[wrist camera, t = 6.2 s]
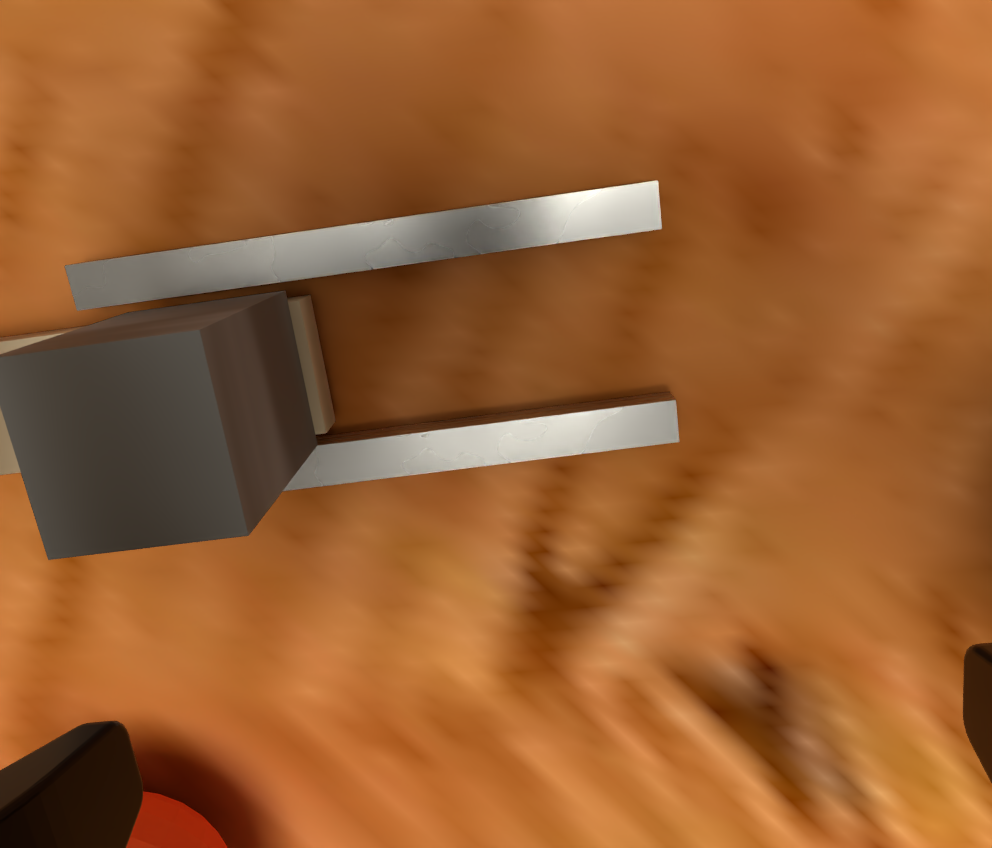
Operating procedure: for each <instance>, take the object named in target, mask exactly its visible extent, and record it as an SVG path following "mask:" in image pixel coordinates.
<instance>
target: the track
mask: <svg viewBox="0 0 992 848" xmlns="http://www.w3.org/2000/svg"><path fill="white" fill-rule="evenodd" d="M658 229H662V224H661V211H660V199H659V187H658V181H647V182H640V183H633V184H626V185H619V186H612V187H605V188H598V189H591V190H584V191H577V192H570V193H563V194H556V195H549V196H542V197H535V198H528V199H521V200H514V201H507V202H500V203H493V204H486V205H479V206H472V207H465V208H458V209H451V210H444V211H437V212H431V213H424V214H417V215H410V216H403V217H396V218H389V219H382V220H375V221H368V222H361V223H354V224H347V225H340V226H333V227H326V228H319V229H312V230H305V231H298V232H291V233H284V234H277V235H270V236H263V237H256V238H249V239H242V240H235V241H228V242H221V243H214V244H208V245H201V246H194V247H187V248H180V249H173V250H166V251H159V252H152V253H145V254H138V255H131V256H124V257H117V258H110V259H103V260H96V261H89V262H82V263H77V264H71V265H65V269H66V273H67V276H68V280H69V283H70V287H71V291H72V294H73V298H74V301H75V305H76V309H77V311H79V310H86V309H93V308H100V307H107V306H115V305H122V304H129V303H136V302H143V301H150V300H157V299H165V298H172V297H179V296H186V295H193V294H200V293H207V292H215V291H222V290H229V289H236V288H243V287H250V286H258V285H265V284H272V283H279V282H286V281H293V280H300V279H308V278H315V277H322V276H329V275H336V274H343V273H350V272H358V271H365V270H372V269H379V268H386V267H393V266H401V265H408V264H415V263H422V262H429V261H436V260H443V259H451V258H458V257H465V256H472V255H479V254H486V253H493V252H501V251H508V250H515V249H522V248H529V247H536V246H543V245H551V244H558V243H565V242H572V241H579V240H586V239H594V238H601V237H608V236H615V235H622V234H629V233H636V232H644V231H651V230H658ZM316 440H317V447H316V448H315V449H314V451H313V452H312V453H311V455H310V456H309V457H308V458H307V460H306V461H305V462H304V464H303V465H302V466H301V468H300V469H299V470H298V472H297V473H296V474H295V475H294V477H293V478H292V479H291V481H290V482H289V483H288V485H287V486H286V487H285V489H284V490H283V491H288V490H296V489H304V488H312V487H320V486H328V485H336V484H344V483H353V482H361V481H369V480H377V479H385V478H393V477H401V476H409V475H417V474H425V473H433V472H441V471H449V470H457V469H465V468H473V467H481V466H489V465H498V464H506V463H514V462H522V461H530V460H538V459H546V458H554V457H562V456H570V455H578V454H586V453H594V452H602V451H610V450H618V449H626V448H634V447H642V446H651V445H659V444H667V443H675V442H679V432H678V420H677V407H676V399H675V398H674V397H673V395H672V394H671V393H670V392H662V393H654V394H646V395H638V396H631V397H623V398H615V399H607V400H599V401H592V402H584V403H576V404H568V405H560V406H552V407H545V408H537V409H529V410H521V411H513V412H506V413H498V414H490V415H482V416H474V417H466V418H459V419H451V420H443V421H435V422H427V423H420V424H412V425H404V426H396V427H388V428H380V429H373V430H365V431H357V432H349V433H341V434H334V435H326V436H318V437H316Z"/></svg>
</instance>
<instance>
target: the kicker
mask: <svg viewBox="0 0 992 848" xmlns="http://www.w3.org/2000/svg"><path fill="white" fill-rule="evenodd" d="M335 421H336V420H335V415H334V410H333V405H332V400H331V395H330V390H329V385H328V380H327V375H326V370H325V365H324V360H323V355H322V350H321V345H320V340H319V335H318V330H317V325H316V320H315V315H314V310H313V305H312V300H311V295H304V296H297V297H290V298H287V295H286V291H279V292H271V293H264V294H257V295H250V296H243V297H235V298H228V299H221V300H214V301H207V302H200V303H192V304H185V305H178V306H171V307H164V308H156V309H149V310H142V311H135V312H128V313H125V314H122V315H119V316H116V317H113V318H109V319H106V320H103V321H100V322H97V323H94V324H91V325H88V326H81V327H73V328H66V329H59V330H52V331H45V332H37V333H30V334H23V335H16V336H8V337H1V338H0V475H5V474H12V473H20V472H21V475H22V478H23V481H24V484H25V487H26V490H27V494H28V497H29V500H30V503H31V506H32V510H33V513H34V516H35V519H36V522H37V525H38V529H39V532H40V535H41V538H42V541H43V545H44V548H45V551H46V554H47V557H48V560H51V559H59V558H68V557H76V556H84V555H93V554H101V553H109V552H117V551H126V550H134V549H142V548H150V547H159V546H167V545H175V544H183V543H192V542H200V541H208V540H216V539H225V538H233V537H241V536H249V534H250V533H251V532H252V531H253V529H254V528H255V527H256V525H257V524H258V523H259V521H260V520H261V519H262V517H263V516H264V515H265V513H266V512H267V511H268V510H269V508H270V507H271V506H272V504H273V503H274V502H275V500H276V499H277V498H278V496H279V495H280V494H281V493H282V491H283V490H284V489H285V487H286V486H287V485H288V483H289V482H290V481H291V479H292V478H293V477H294V475H295V474H296V473H297V472H298V470H299V469H300V468H301V466H302V465H303V464H304V462H305V461H306V460H307V458H308V457H309V456H310V455H311V453H312V452H313V451H314V449H315V448H316V447H317V440H316V435H317V434H325V433H327V432H328V430H329V429H330V428H331V427H332V425H333V424H334V423H335Z"/></svg>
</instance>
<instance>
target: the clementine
mask: <svg viewBox="0 0 992 848" xmlns="http://www.w3.org/2000/svg"><path fill="white" fill-rule="evenodd" d="M126 848H227V846H226V844H225V842H224V841H223V839H222V838H221V836H220V834H219V833H218V831H217V830H216V829H215V828H214V827H213V826H212V825H211V824H210V823H209V822H208V821H207V820H206V819H205V818H204V817H203V816H202V815H201V814H199V813H197V812H196V811H194V810H193V809H191V808H190V807H188V806H187V805H185V804H184V803H182V802H179V801H177V800H174V799H172V798H169V797H166V796H164V795H161V794H157V793H151V792H144V791H143V800H142V805H141V808H140V811H139V814H138V817H137V819H136V822H135V825H134V827H133V830H132V833H131V836H130V838H129V841H128V844H127V847H126Z"/></svg>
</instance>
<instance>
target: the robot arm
mask: <svg viewBox="0 0 992 848" xmlns="http://www.w3.org/2000/svg"><path fill="white" fill-rule="evenodd" d="M963 720H964V725H965V729H966V733H967V736H968V738H969V740H970V743H971V745H972V746H973V748H974V750H975V752H976V754H977V756H978V758H979V760H980V762H981V764H982V766H983V768H984V770H985V772H986V773H987V775H988V777H989V779H990V781H991V783H992V643H983V644H975V645H972V646H970V647H969V648H968V649H967V651H966V654H965V657H964V687H963ZM142 800H143V783H142V778H141V775H140V771H139V768H138V765H137V761H136V758H135V754H134V751H133V748H132V744H131V741H130V738H129V734H128V732H127V729H126V728H125V726H124V725H123V724H122V723H120V722H118V721H105V722H94V723H86V724H82V725H80V726H78V727H76V728H74V729H72V730H71V731H69V732H67V733H65V734H64V735H62V736H60V737H58V738H57V739H55V740H53V741H51V742H49V743H48V744H46V745H44V746H42V747H41V748H39V749H37V750H35V751H34V752H32V753H30V754H28V755H27V756H25V757H23V758H21V759H20V760H18V761H16V762H14V763H13V764H11V765H9V766H7V767H5V768H4V769H2V770H0V848H126V847H127V844H128V841H129V838H130V836H131V833H132V830H133V827H134V825H135V822H136V819H137V817H138V814H139V811H140V808H141V805H142Z"/></svg>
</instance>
